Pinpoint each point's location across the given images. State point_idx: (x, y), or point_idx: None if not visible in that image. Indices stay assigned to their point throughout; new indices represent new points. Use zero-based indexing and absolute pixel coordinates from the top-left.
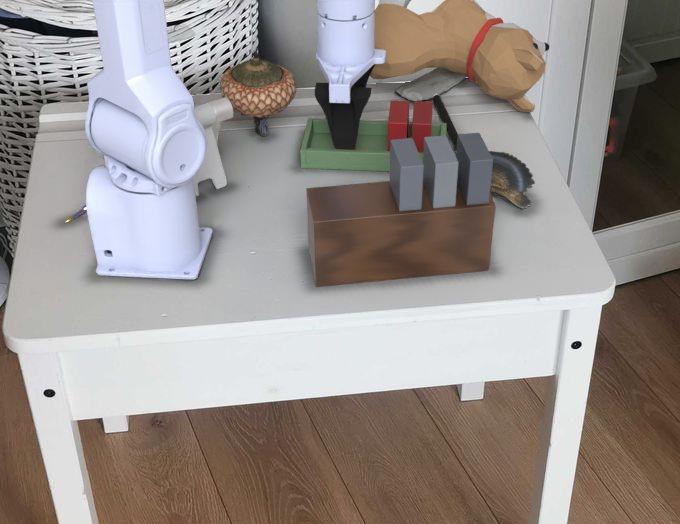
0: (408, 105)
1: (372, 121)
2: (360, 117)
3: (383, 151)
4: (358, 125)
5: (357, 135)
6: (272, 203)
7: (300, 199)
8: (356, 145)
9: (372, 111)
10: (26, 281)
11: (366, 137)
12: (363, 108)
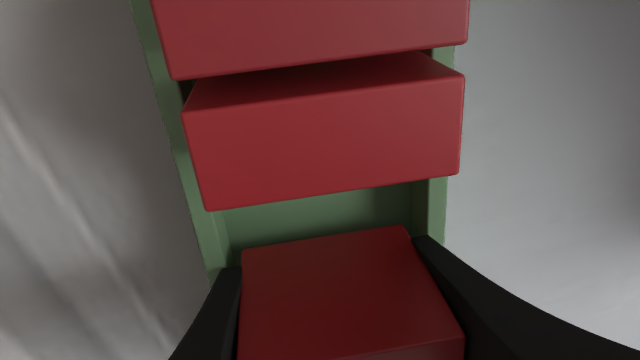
0: (242, 107)
1: (202, 222)
2: (542, 310)
3: None
4: (497, 285)
5: (292, 241)
6: (571, 319)
7: (562, 275)
8: (303, 224)
9: (3, 229)
10: None
11: (242, 207)
12: (620, 344)
